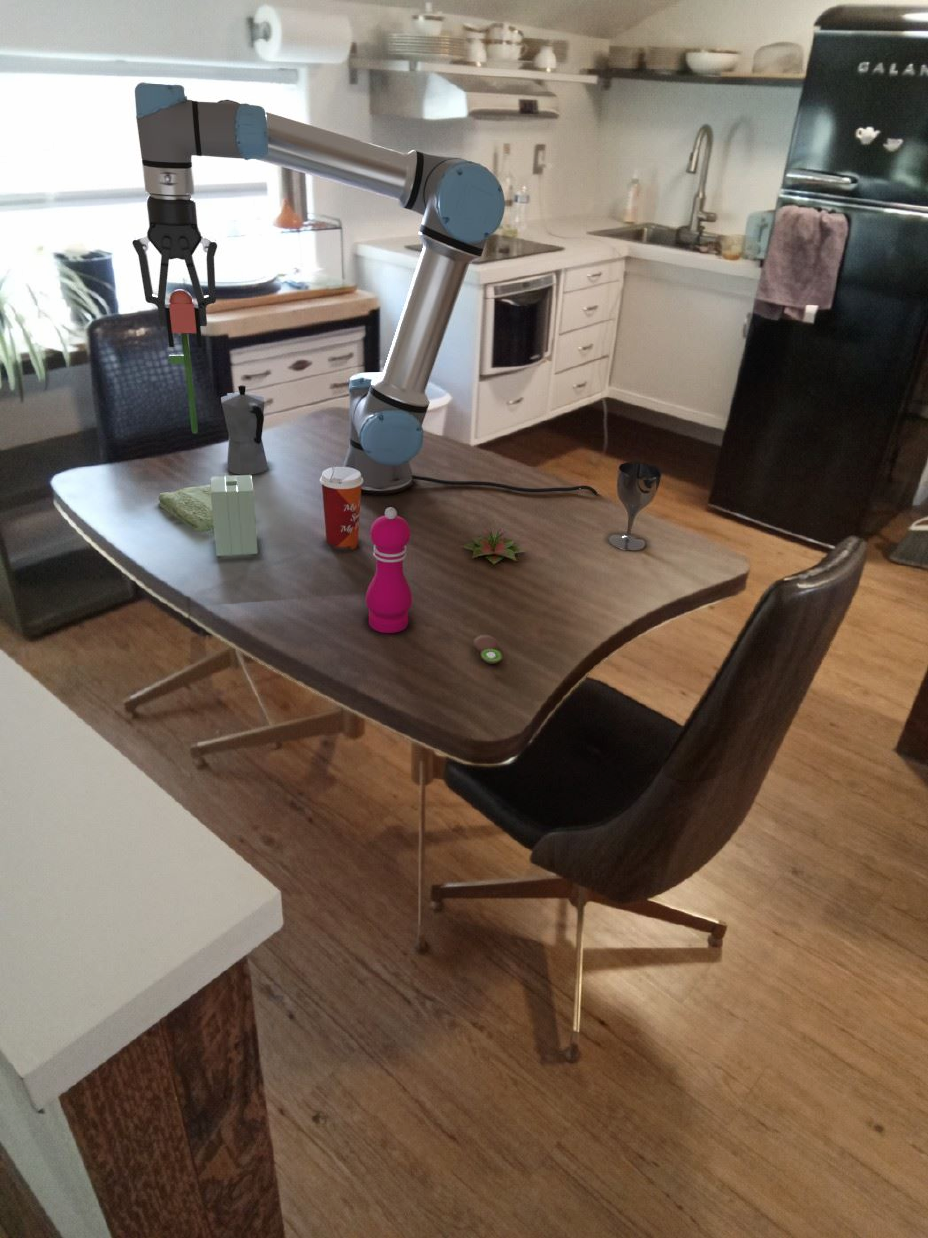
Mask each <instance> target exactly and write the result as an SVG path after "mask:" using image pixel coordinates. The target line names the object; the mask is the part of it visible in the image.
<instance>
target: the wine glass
mask: <svg viewBox="0 0 928 1238" xmlns="http://www.w3.org/2000/svg"><path fill="white" fill-rule="evenodd" d="M661 479H662V470H661V469H660V468H659V467H657V466H655V465H653V464H650V463H647V462H639V461H627V462H623V463H621V464H620V465H619V466H618V470H617V476H616V492H617V497H618V499H619V501H620V502H621V505H623V507H624V509H625V510H626V513H627V527H626V533H616V534H615V533H614V534H612V535H611V536H610V537H608V542H609V544H610V545H611V546H613V547H615V548H617V549H620V550H624V551H640V550H643V549H644V548H645V547H646V542H645V541H644V539H642V538H640V537H638V536H637V535H633V534H631V533H632V527H633V525H634V521H635V518H636V517H637V515H638V514H639V513H640V512H641V511H642V510H643V509H644V508H647V506H648V505H650V504H651V503H652V502H653V501H654V499H655V497H656V494H657V491H658V489H659V487H660V483H661Z"/></svg>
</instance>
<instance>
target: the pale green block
mask: <svg viewBox="0 0 928 1238" xmlns="http://www.w3.org/2000/svg"><path fill="white" fill-rule="evenodd" d="M209 482H210V483H209V485H210V492H211V503H212V513H213V523H214V528H213V532H214V533H213V535H214V542H215V553H216V557H227V556H228V557H230V556H244V555H245V556H247V555H258V554H259V553H258V538H257V537H258V535H257V524H256V523H257V522H256V509H255V496H254V494H255V492H254V485H253V478H252V475H241V474H236V475H216V476H215V475H211V476H209Z"/></svg>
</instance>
